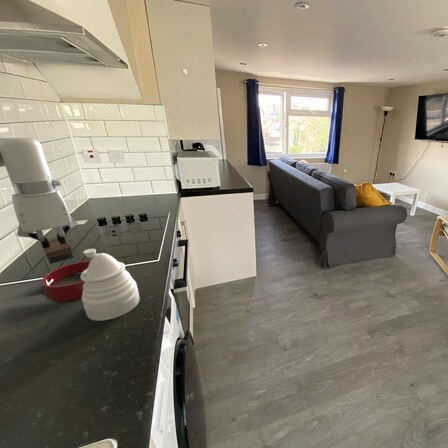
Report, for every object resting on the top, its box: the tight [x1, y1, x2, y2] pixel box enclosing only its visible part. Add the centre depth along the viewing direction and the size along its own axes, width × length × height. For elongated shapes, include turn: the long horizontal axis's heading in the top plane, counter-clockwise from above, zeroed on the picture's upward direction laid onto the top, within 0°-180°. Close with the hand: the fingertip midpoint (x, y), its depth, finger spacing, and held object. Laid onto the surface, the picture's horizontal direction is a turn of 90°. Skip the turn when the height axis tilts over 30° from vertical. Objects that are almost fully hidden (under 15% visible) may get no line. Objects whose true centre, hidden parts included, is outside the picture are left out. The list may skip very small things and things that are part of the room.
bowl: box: [40, 260, 91, 303], centre depth 82 cm, size 15×15×6 cm
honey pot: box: [79, 248, 141, 321], centre depth 72 cm, size 13×13×18 cm
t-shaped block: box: [43, 236, 74, 265], centre depth 72 cm, size 11×5×3 cm, turn 48°
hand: (56, 250), depth 75 cm, fingers closed on t-shaped block, 2 cm apart
